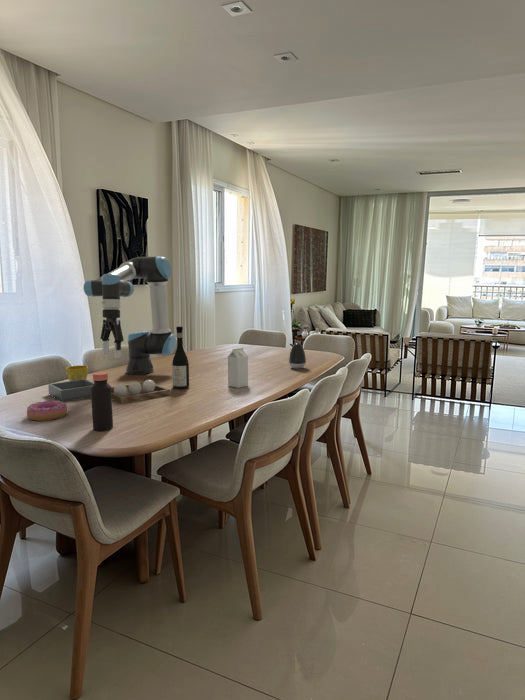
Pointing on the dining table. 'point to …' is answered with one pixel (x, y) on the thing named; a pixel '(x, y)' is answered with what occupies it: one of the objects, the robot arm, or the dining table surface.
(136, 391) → the pebble
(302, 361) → the pump dispenser
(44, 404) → the donut
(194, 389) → the dining table surface
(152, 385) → the pebble
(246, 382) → the milk carton
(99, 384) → the vinegar
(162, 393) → the tray
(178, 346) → the wine bottle
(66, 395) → the grey shallow box
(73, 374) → the plant pot
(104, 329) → the robot arm
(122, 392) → the off-white glossy ball
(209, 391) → the dining table surface
